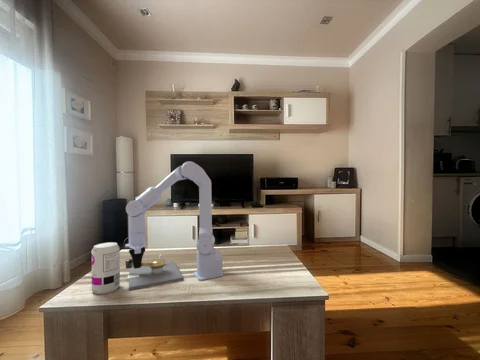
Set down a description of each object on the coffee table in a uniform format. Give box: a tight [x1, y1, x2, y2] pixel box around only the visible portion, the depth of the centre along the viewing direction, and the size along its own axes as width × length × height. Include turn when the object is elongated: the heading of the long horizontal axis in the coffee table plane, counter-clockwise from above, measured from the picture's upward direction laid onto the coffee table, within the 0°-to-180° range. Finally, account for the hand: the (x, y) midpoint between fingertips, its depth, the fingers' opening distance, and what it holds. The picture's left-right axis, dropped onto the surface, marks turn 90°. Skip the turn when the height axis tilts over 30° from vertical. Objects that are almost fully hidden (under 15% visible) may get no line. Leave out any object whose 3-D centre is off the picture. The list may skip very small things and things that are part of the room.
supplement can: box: [91, 241, 121, 295], centre depth 79 cm, size 8×8×15 cm
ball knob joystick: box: [125, 258, 166, 270], centre depth 90 cm, size 15×6×3 cm, turn 96°
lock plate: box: [127, 254, 184, 291], centre depth 91 cm, size 18×21×5 cm
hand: (137, 267), depth 88 cm, fingers closed, pressing on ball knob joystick
